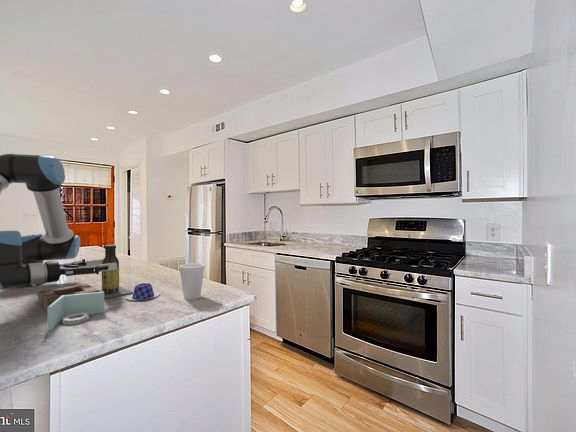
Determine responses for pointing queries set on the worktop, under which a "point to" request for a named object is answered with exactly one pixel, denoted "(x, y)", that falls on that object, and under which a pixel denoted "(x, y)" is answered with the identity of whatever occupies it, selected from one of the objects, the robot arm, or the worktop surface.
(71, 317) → the mint folded panel
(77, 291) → the walnut collar
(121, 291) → the grey mat
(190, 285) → the foam cup
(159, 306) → the worktop surface
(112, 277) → the sauce bottle
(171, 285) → the worktop surface
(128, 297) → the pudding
